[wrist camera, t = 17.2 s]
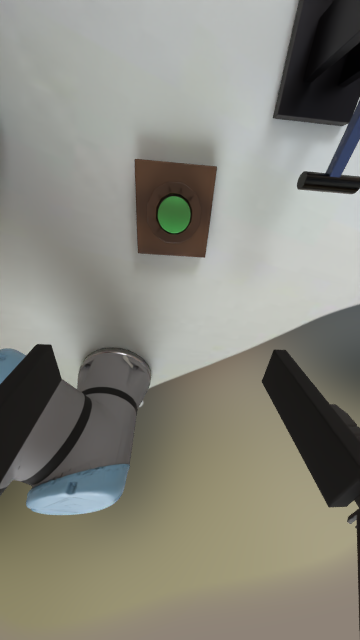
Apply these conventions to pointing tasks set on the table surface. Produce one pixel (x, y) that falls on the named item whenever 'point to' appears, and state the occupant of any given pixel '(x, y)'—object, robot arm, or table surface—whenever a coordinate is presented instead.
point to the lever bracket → (322, 64)
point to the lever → (337, 165)
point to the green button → (174, 214)
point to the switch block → (165, 182)
